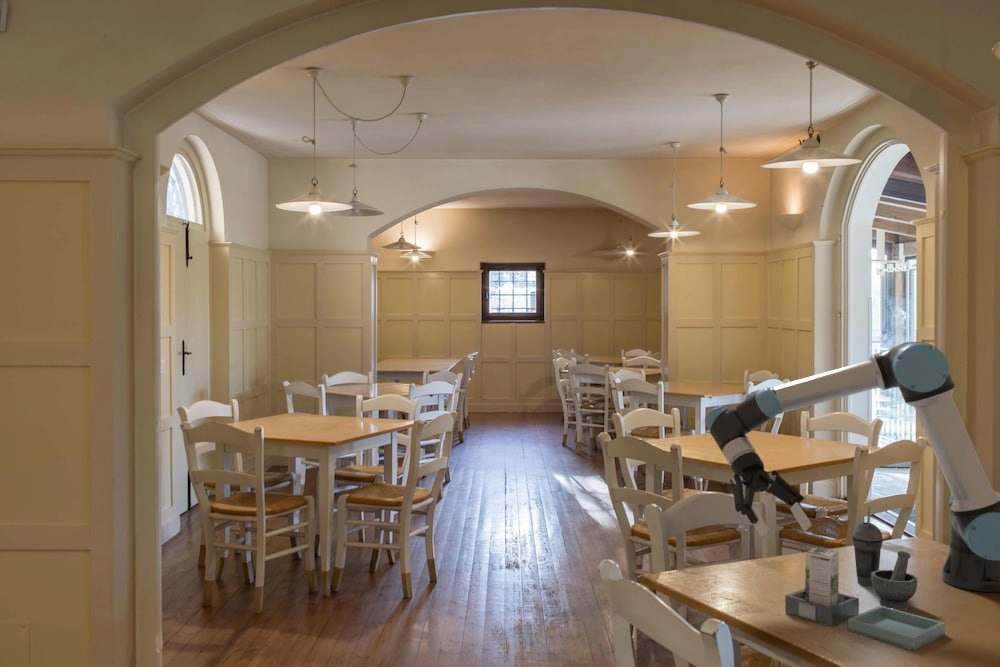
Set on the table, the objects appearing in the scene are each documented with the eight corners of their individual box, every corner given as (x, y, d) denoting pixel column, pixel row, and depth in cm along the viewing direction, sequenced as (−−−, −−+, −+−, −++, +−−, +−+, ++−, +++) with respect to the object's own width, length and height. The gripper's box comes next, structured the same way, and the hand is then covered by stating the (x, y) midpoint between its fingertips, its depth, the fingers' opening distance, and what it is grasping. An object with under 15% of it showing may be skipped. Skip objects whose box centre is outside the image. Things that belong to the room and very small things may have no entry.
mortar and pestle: (903, 614, 186) (903, 562, 186) (863, 604, 193) (863, 553, 193) (926, 604, 193) (926, 553, 193) (887, 594, 200) (887, 545, 200)
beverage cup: (877, 579, 212) (877, 502, 212) (887, 588, 205) (887, 509, 205) (848, 579, 213) (848, 502, 213) (857, 587, 206) (857, 508, 205)
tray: (880, 616, 185) (880, 605, 185) (945, 634, 174) (945, 622, 174) (847, 630, 176) (848, 619, 176) (913, 650, 165) (913, 638, 165)
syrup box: (812, 608, 190) (812, 546, 190) (839, 613, 187) (839, 550, 187) (804, 615, 186) (804, 551, 186) (831, 620, 182) (831, 555, 182)
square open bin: (813, 602, 195) (813, 585, 195) (859, 615, 186) (859, 597, 186) (784, 613, 187) (784, 595, 187) (830, 627, 178) (830, 609, 178)
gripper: (773, 464, 217) (816, 534, 204) (697, 471, 207) (738, 545, 193) (787, 447, 212) (833, 517, 199) (711, 453, 202) (754, 527, 188)
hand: (786, 531), depth 196 cm, fingers open, 13 cm apart
